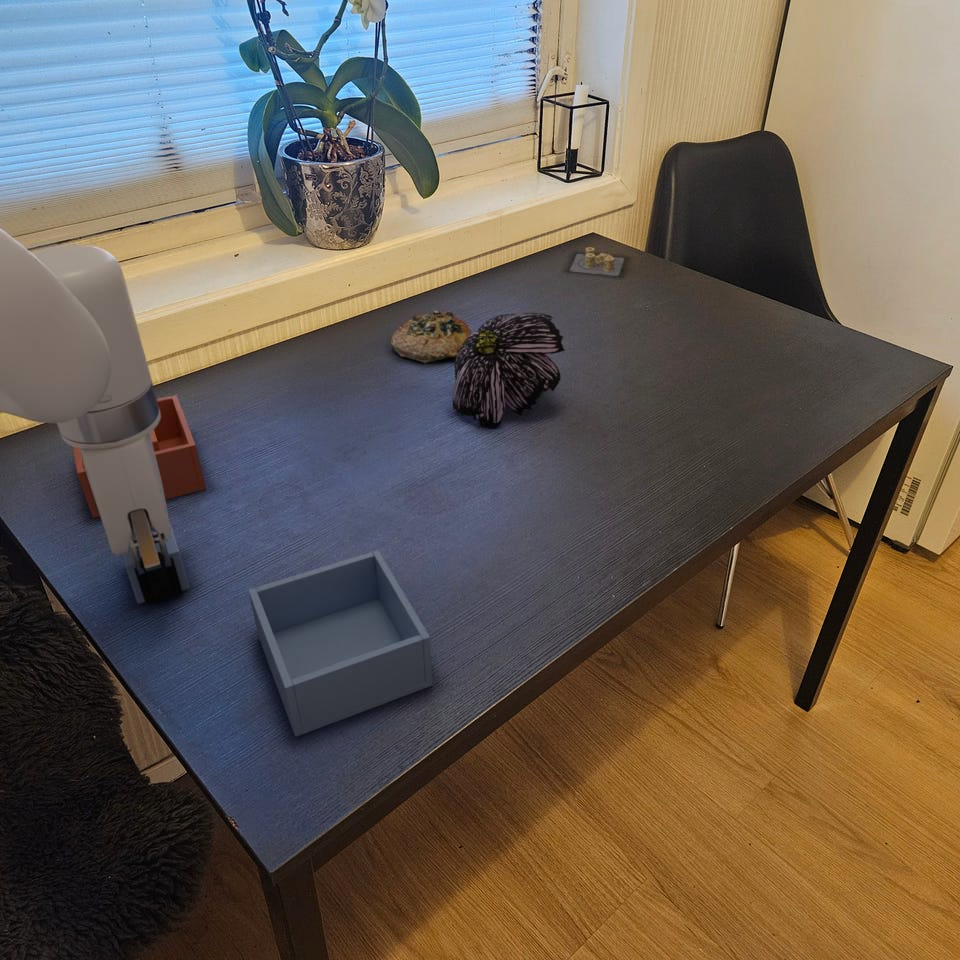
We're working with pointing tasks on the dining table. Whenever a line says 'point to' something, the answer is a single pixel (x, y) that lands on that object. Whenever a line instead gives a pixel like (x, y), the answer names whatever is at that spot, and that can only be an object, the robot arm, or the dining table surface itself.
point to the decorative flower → (506, 366)
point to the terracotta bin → (164, 456)
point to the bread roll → (430, 337)
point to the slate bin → (340, 640)
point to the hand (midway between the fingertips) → (159, 578)
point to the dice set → (597, 263)
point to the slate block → (171, 549)
